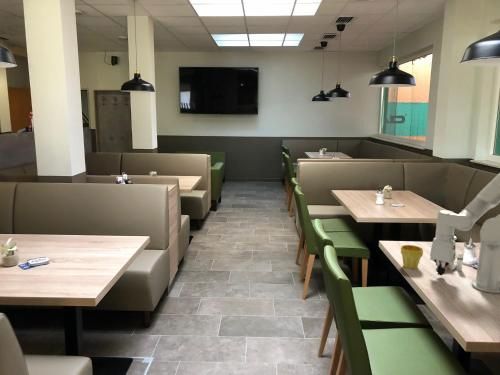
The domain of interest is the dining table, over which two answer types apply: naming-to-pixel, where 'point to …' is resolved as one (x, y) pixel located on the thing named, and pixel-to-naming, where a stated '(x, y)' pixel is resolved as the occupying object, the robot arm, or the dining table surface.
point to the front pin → (453, 266)
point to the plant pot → (411, 256)
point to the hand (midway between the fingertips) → (440, 274)
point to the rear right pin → (459, 262)
